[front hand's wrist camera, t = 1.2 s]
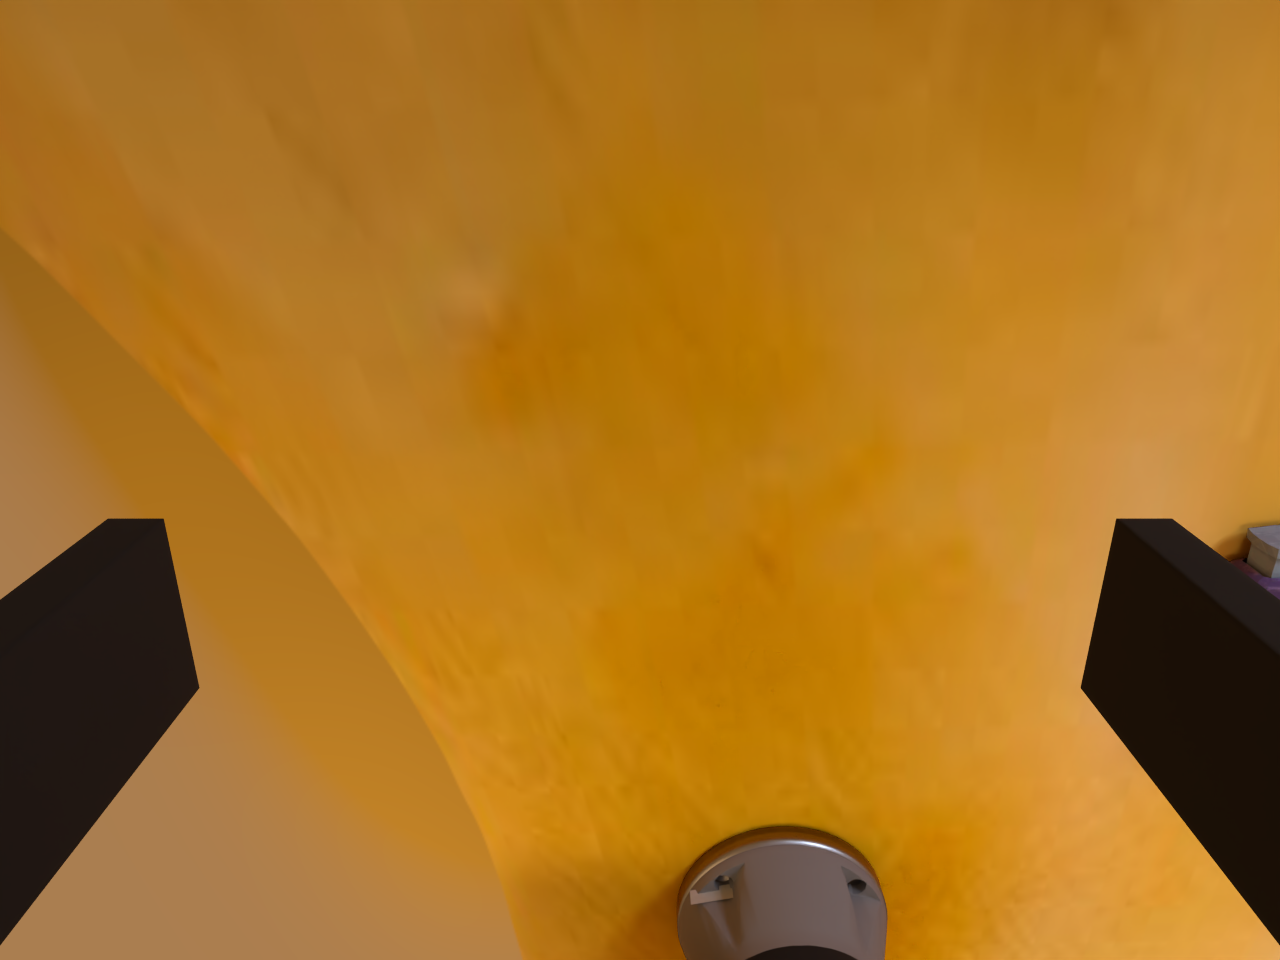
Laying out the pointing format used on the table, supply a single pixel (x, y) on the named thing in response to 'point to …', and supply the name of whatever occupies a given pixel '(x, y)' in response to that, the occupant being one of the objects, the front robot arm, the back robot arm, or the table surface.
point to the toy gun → (1263, 558)
